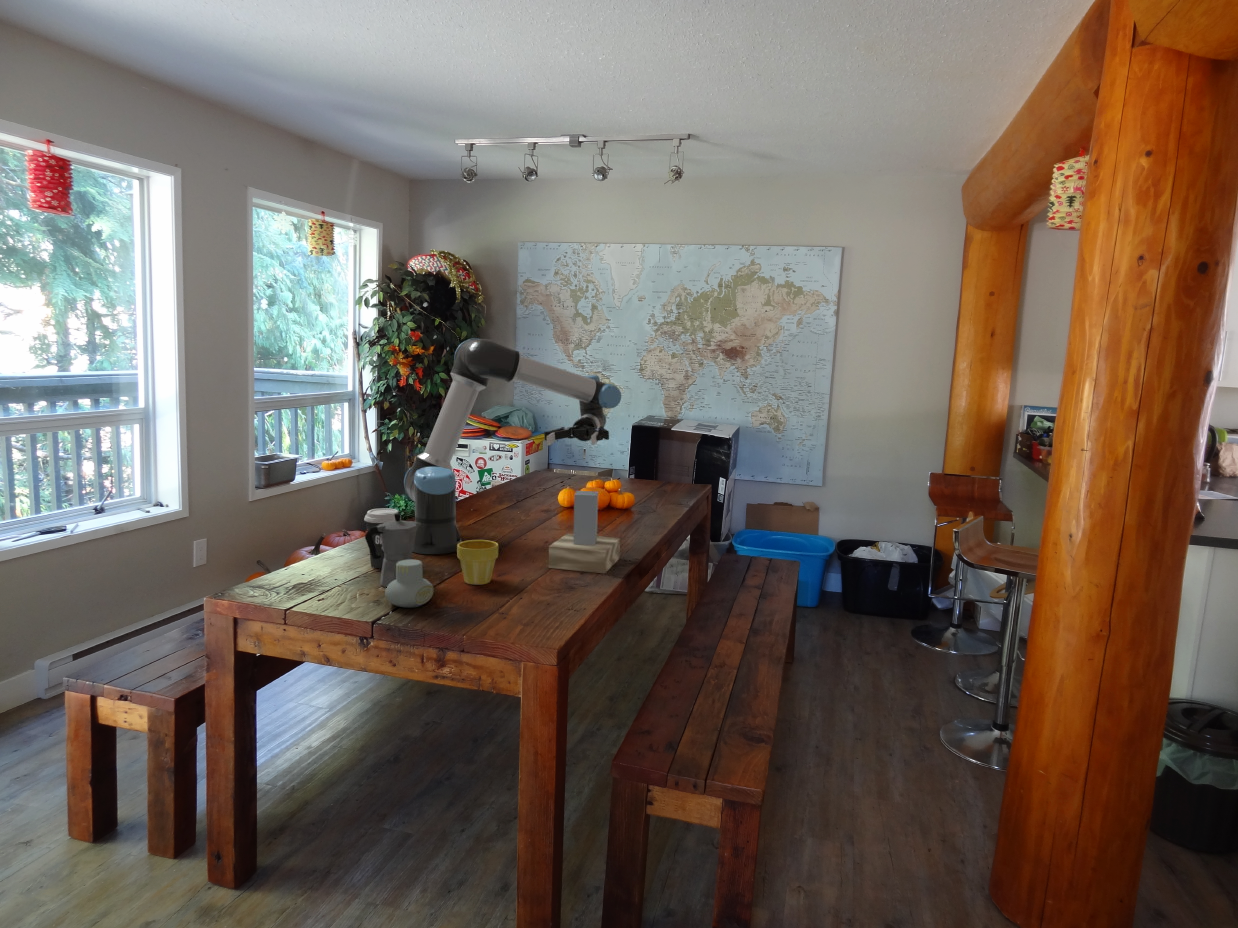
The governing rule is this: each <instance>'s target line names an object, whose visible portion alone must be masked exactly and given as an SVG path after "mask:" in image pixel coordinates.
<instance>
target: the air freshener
mask: <svg viewBox="0 0 1238 928" xmlns="http://www.w3.org/2000/svg"><path fill="white" fill-rule="evenodd" d="M423 577H424V576H423V562H422V561H421V560H419V559H409V560H402V561H399V562H398V563H397V564H396V580H394V581H392V582H391V583H390V584H389V585H388V586H387V588H386V587H385V591H384V596H385V598H386V599H387V601H388V602H389V603H391V604H392V605H393V606H396V607H400V608H408V609H409V608H419V607H422V606H423V605H424V604H426V603H427V602H429V601H430V599H432V597H433V594H434V589H435V588H434V585H433V584H432V583H431V582H430V581H429V580H428V579H426V578H423Z"/></svg>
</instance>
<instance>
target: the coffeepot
mask: <svg viewBox="0 0 1238 928" xmlns="http://www.w3.org/2000/svg"><path fill="white" fill-rule="evenodd" d="M394 516H395V521H390V522H386V523H383V524H380V525H379V526H374V527H370V528H369V530H368V531H367V530H366V532H365V535H364V540H365V542H366V544H367V548H368V549H369V550H370V552H371V555H372V558H373V559H380V558H381V555H377V554H376V548H375V546H374V541H373V538H372V535H373V534H380V535H381V541H382V547H383V551H384V559H383V565H382V569H381V571H380V578H379V579H380V580H379V583H380V586H381V585H382V586H381V587H383V588H386V587H387V586H388V585H389V584H390V583H391V582H392V581H394V580H396V564H397V563H398V562H399V561H402V560H409V559H413V552H412V551H413V549H414V542H415V535H416V531H417V529H418V527H419V526H420V525H421V523H419V522H415V521H411V520H408V521H407V520H400V517H401V518H402V514H401V513H399V512H398V513H397V514H394ZM370 552H369V553H370ZM413 560H414V559H413Z"/></svg>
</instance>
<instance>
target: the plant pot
mask: <svg viewBox="0 0 1238 928" xmlns="http://www.w3.org/2000/svg"><path fill="white" fill-rule="evenodd" d="M456 553H457V554H456V556H457V559H458V560H459V561H460V566H461V572H462V575H463V576H462V577H463V580H464V583H466V584H468V585H479V586H481V585H485V584H489V583H490V582H491V580H492V577H493V571H494V567H495V563H496V560H497V559H498V557H499V543H498V542H496V541H492V540H487V539H471V540H464V541H462V542H460V543H459V544H458V545H457V551H456Z"/></svg>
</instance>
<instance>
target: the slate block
mask: <svg viewBox="0 0 1238 928" xmlns="http://www.w3.org/2000/svg"><path fill="white" fill-rule="evenodd" d="M573 498H574V501H573V503H574V504H573V534H574V540H573V544H576V545H595V544H596V541H597V536H598V515H599V514H598V511H599V491H591V490H590V491H587V490H576V492H575V493H574V497H573Z"/></svg>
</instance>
